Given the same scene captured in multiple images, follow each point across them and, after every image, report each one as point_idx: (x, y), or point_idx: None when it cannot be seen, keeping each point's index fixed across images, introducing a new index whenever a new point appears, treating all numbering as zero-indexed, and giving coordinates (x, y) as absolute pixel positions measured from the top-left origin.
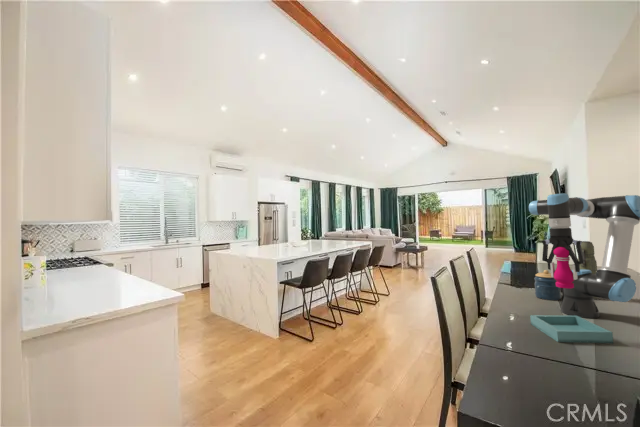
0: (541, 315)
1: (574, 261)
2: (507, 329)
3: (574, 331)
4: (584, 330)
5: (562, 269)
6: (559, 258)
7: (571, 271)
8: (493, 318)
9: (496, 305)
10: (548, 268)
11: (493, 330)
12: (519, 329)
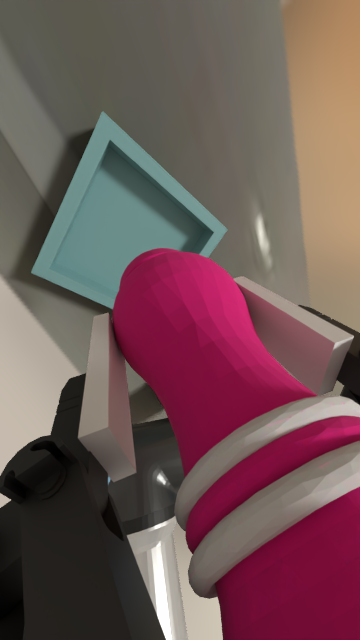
0: (207, 254)
1: (69, 518)
2: (240, 105)
3: (76, 172)
4: (71, 216)
5: (192, 314)
6: (348, 447)
7: (135, 365)
8: (293, 183)
9: (307, 292)
10: (307, 308)
11: (267, 37)
12: (218, 145)
